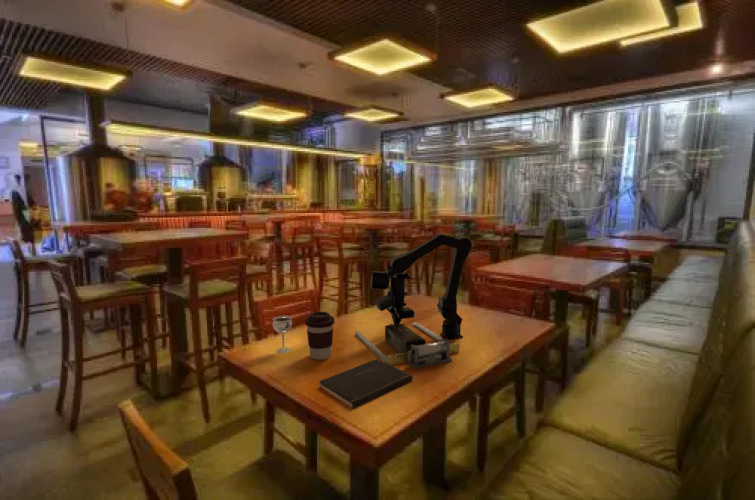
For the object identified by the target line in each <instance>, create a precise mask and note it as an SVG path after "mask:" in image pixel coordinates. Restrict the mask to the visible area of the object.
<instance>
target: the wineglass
mask: <svg viewBox="0 0 755 500" xmlns="http://www.w3.org/2000/svg"><path fill="white" fill-rule="evenodd" d="M292 319H293V317H292V316H290V315H285V314H284V315H278V316H274V317H273V318H272V320H273V322H272V328H273V329H274V330H275V331H276V332H277V333H279V334H281V340H282V341H281V343H282V347H281V348H278V349H276V353H277V354H286V353H289V352H291V348H289V347H285V334H286V333H288V332H289V331H290V330H291V328H292V325H293V322H292Z"/></svg>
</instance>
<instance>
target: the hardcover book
mask: <svg viewBox="0 0 755 500" xmlns="http://www.w3.org/2000/svg"><path fill="white" fill-rule="evenodd" d="M410 382H413V375H412V374H410V373H408V372H406V371H404V370H402V369H400V368H397V367H395V366H394V365H389V364H387V363H385V362H383V361H382V360H381V359H378V358H376V359H373V360H370V361H368V362H366V363H363V364H360V365H358V366H355V367H353V368H350V369H348V370H347V369H346V370H345V371H343V372H340V373H338V374H335V375H331V376H329V377H327V378H324V379H322V380H320V381H318V383H319V386H320V388H321V389H323V390H324V391H325V392H327V393H328V394H331V395H332V396H333V397H335V398H336V399H338V400H339V401H341V402H342V403H344V404H346V405H347V406H348V407H350V408H352V410H354V409H356V408H358V407H361V406H362V405H364V404H367V403H368V402H371V401H372V400H374V399H377V398H379V397H382V396H383V395H386V394H388V393H390V392H392V391H393V390H396V389H398V388H401V387H402V386H404V385H406V384H408V383H410Z"/></svg>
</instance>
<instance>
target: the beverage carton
mask: <svg viewBox="0 0 755 500" xmlns="http://www.w3.org/2000/svg"><path fill="white" fill-rule="evenodd" d="M384 340H385V342H387V343H388V344H389V345H390V346H391V347H392V348H394V349H395V350H396V351H397V352H398V353H404V352H407V351H411V345H415V346H417V345H422V344H427V343H426V339H424V337H422V336H420V335H419V334H418V333H416V332H415V331H413V329H411V328H409V327H408V326H406V325H405V324H404V323H400V324H395V325H394V323H393V324H392V323H390V324H387V325H385V326H384Z"/></svg>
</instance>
